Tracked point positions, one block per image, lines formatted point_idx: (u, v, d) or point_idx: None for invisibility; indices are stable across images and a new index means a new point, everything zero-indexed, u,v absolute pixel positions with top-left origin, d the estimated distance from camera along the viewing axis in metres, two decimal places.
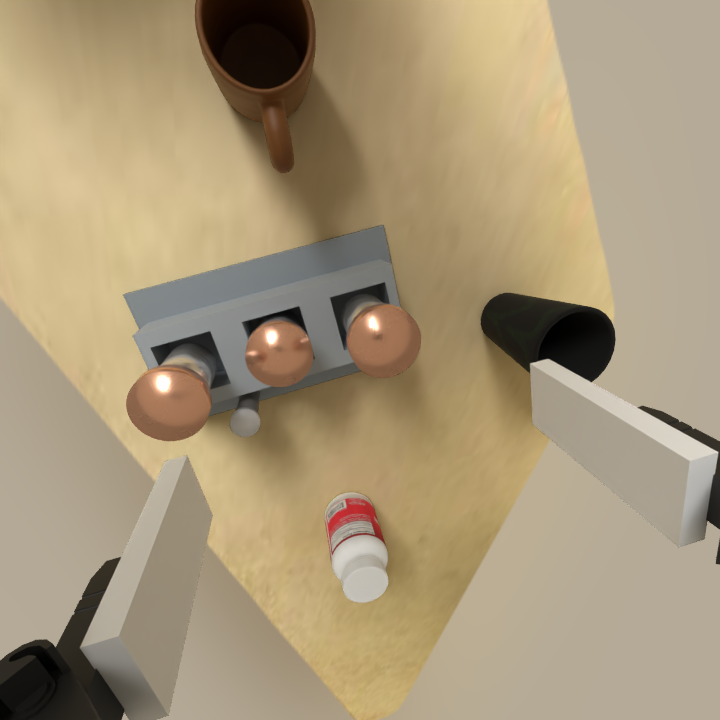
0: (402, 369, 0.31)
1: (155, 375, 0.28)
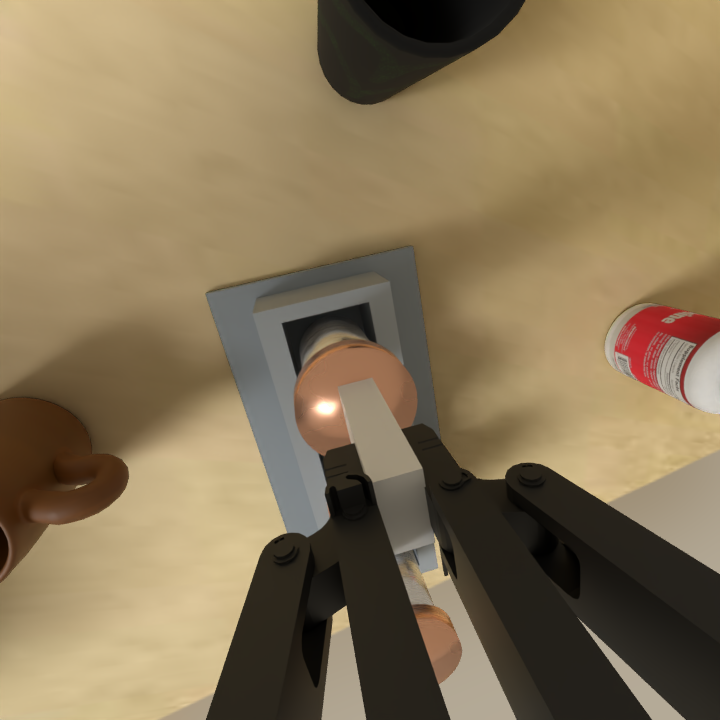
0: (407, 377, 0.18)
1: None
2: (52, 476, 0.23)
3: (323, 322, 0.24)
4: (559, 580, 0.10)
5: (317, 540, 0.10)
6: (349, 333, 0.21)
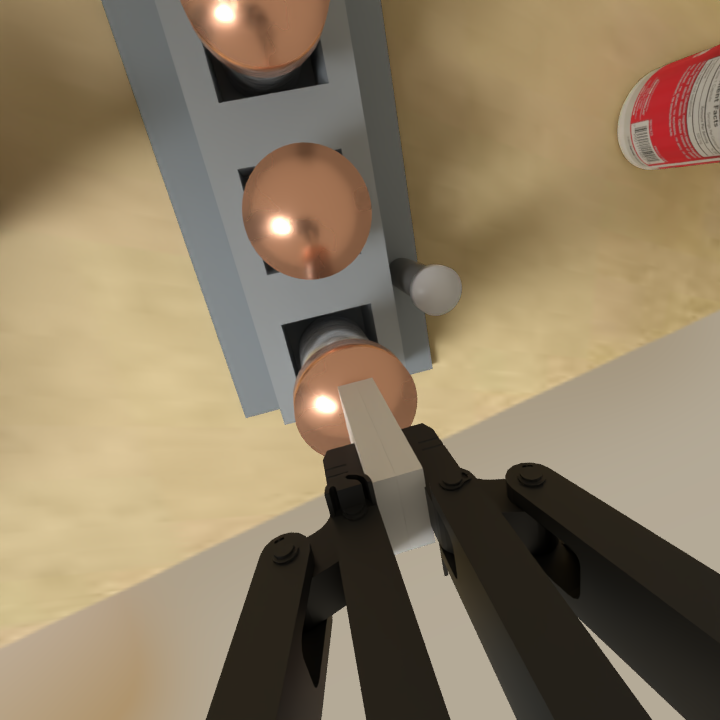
0: None
1: (300, 420, 0.17)
2: None
3: None
4: (559, 580, 0.10)
5: (317, 540, 0.10)
6: None
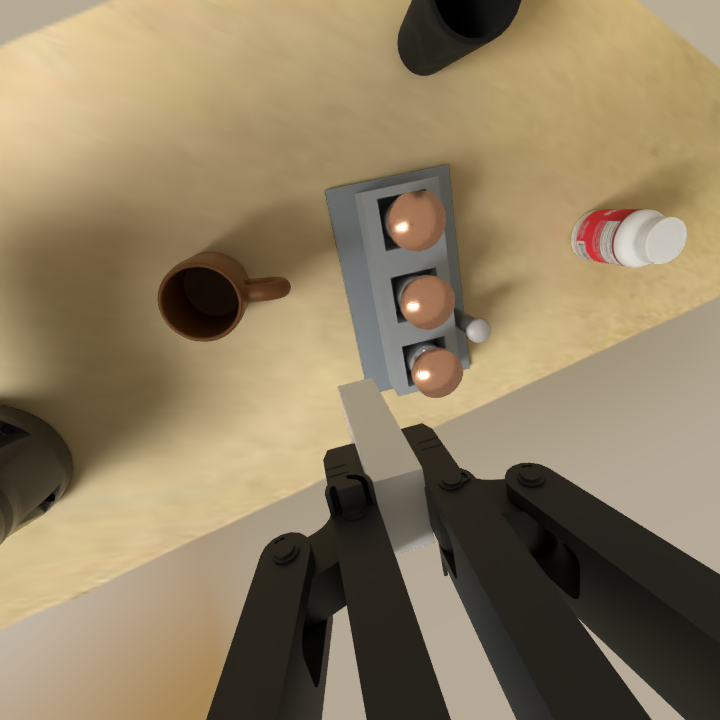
0: (441, 207, 0.38)
1: (417, 379, 0.44)
2: None
3: (392, 200, 0.44)
4: (559, 580, 0.10)
5: (317, 540, 0.10)
6: None
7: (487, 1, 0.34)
